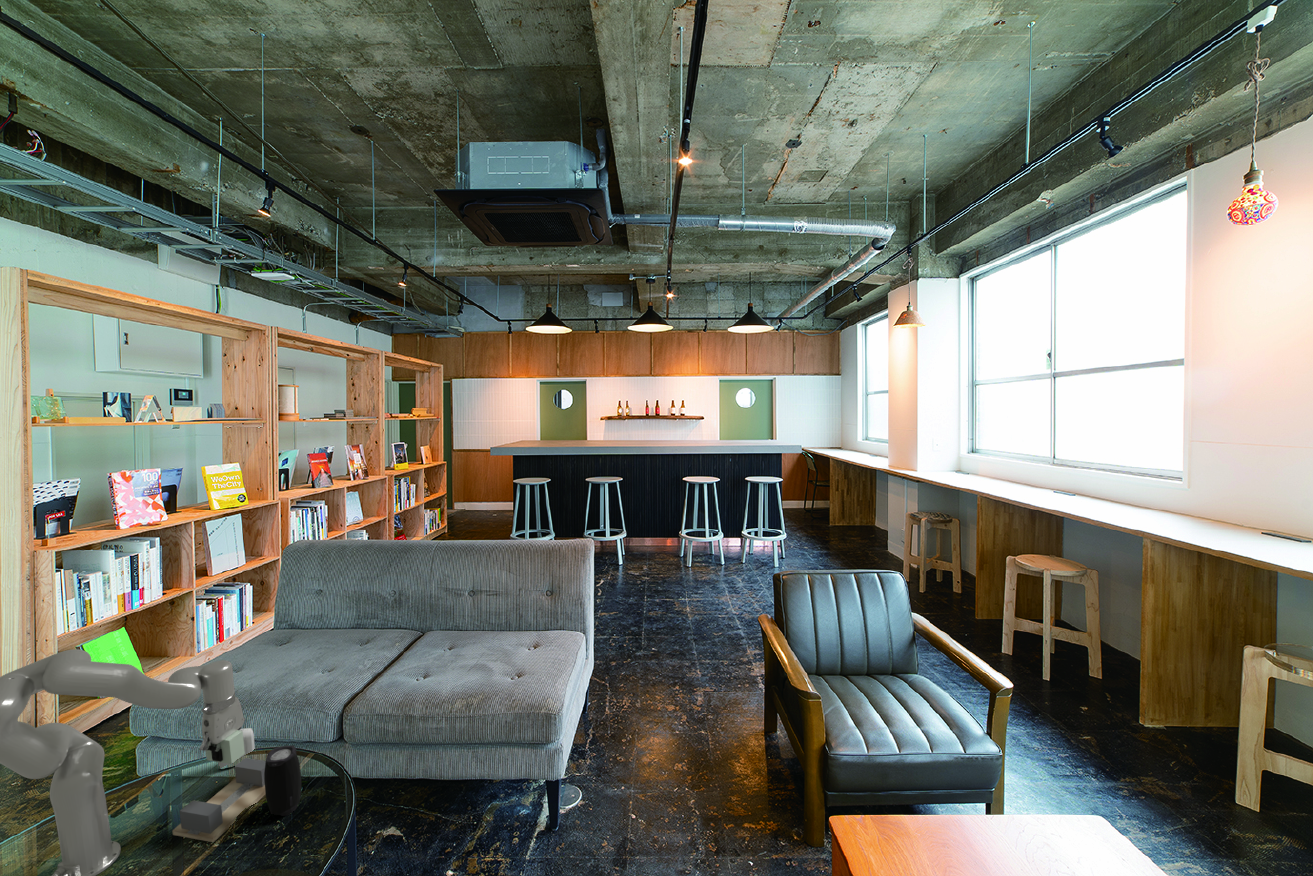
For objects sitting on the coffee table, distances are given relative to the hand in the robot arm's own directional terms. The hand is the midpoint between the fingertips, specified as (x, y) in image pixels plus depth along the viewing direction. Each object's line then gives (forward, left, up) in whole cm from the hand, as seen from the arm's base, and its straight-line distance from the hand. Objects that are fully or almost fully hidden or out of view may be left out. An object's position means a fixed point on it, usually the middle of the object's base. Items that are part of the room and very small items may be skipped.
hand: (225, 753), depth 169 cm
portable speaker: (+2, -17, -19) cm, 26 cm away
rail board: (0, 0, -18) cm, 18 cm away
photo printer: (+16, +14, -19) cm, 28 cm away
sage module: (0, 0, -1) cm, 1 cm away
